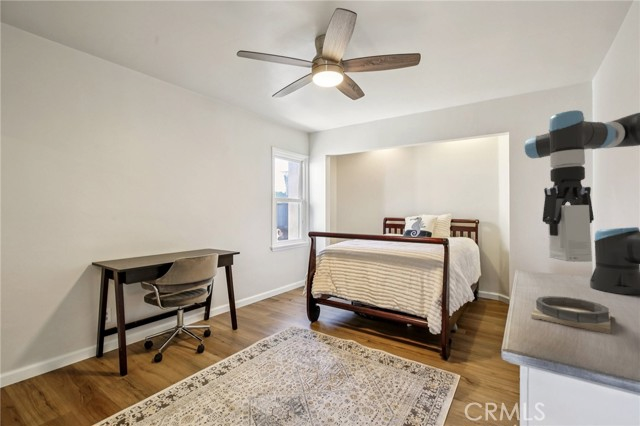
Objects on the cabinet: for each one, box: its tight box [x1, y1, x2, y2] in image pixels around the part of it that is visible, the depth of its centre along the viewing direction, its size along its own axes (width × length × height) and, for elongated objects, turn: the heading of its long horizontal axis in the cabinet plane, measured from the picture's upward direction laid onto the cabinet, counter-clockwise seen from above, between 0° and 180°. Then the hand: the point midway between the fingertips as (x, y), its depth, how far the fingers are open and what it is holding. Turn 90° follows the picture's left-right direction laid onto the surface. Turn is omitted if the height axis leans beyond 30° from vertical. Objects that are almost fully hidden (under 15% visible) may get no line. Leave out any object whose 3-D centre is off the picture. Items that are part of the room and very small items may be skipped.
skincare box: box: [547, 204, 593, 263], centre depth 83 cm, size 8×7×16 cm
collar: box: [530, 295, 612, 334], centre depth 83 cm, size 16×16×4 cm
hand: (568, 246), depth 83 cm, fingers closed on skincare box, 8 cm apart
